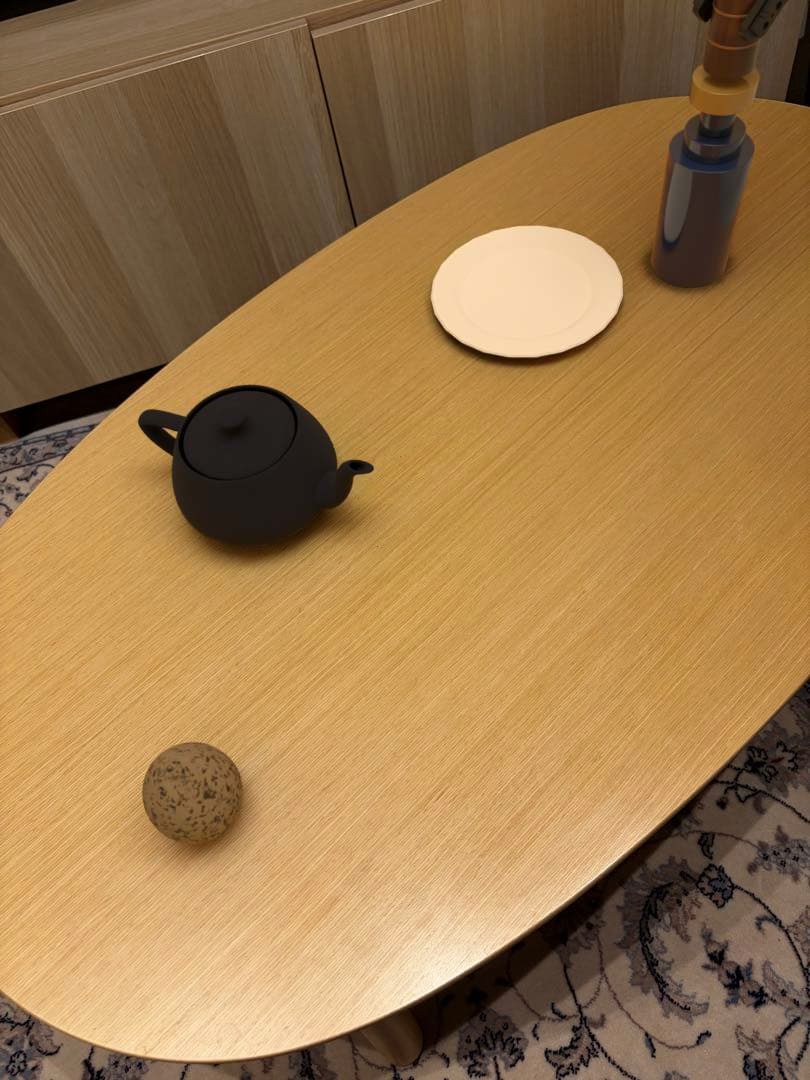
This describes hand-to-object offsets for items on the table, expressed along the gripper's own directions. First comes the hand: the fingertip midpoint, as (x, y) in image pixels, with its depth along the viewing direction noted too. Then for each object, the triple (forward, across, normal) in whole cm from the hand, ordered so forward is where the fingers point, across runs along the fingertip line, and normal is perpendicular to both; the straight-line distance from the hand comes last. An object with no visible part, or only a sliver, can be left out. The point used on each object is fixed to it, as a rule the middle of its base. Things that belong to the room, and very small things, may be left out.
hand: (722, 26), depth 73 cm
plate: (+29, -8, +8) cm, 31 cm away
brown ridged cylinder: (+2, 0, +4) cm, 4 cm away
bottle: (+17, 0, +20) cm, 26 cm away
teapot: (+55, -4, -18) cm, 57 cm away
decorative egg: (+68, +19, -31) cm, 78 cm away
